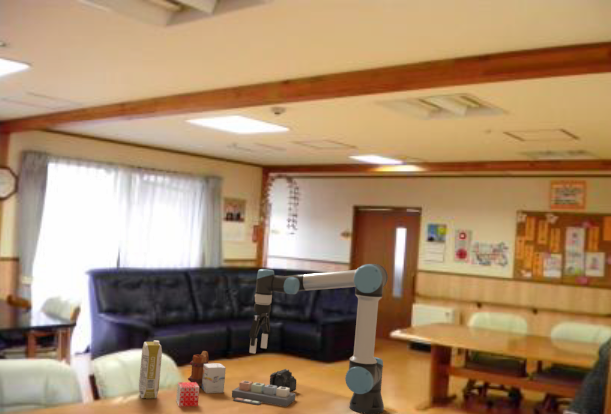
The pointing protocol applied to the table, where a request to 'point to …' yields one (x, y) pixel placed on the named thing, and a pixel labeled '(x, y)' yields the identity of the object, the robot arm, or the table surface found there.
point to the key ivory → (282, 391)
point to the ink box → (213, 378)
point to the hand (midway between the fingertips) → (258, 350)
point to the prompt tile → (247, 401)
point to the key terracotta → (245, 385)
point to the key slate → (270, 389)
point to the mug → (198, 367)
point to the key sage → (257, 387)
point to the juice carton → (150, 369)
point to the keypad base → (264, 397)
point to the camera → (283, 379)
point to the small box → (187, 394)
